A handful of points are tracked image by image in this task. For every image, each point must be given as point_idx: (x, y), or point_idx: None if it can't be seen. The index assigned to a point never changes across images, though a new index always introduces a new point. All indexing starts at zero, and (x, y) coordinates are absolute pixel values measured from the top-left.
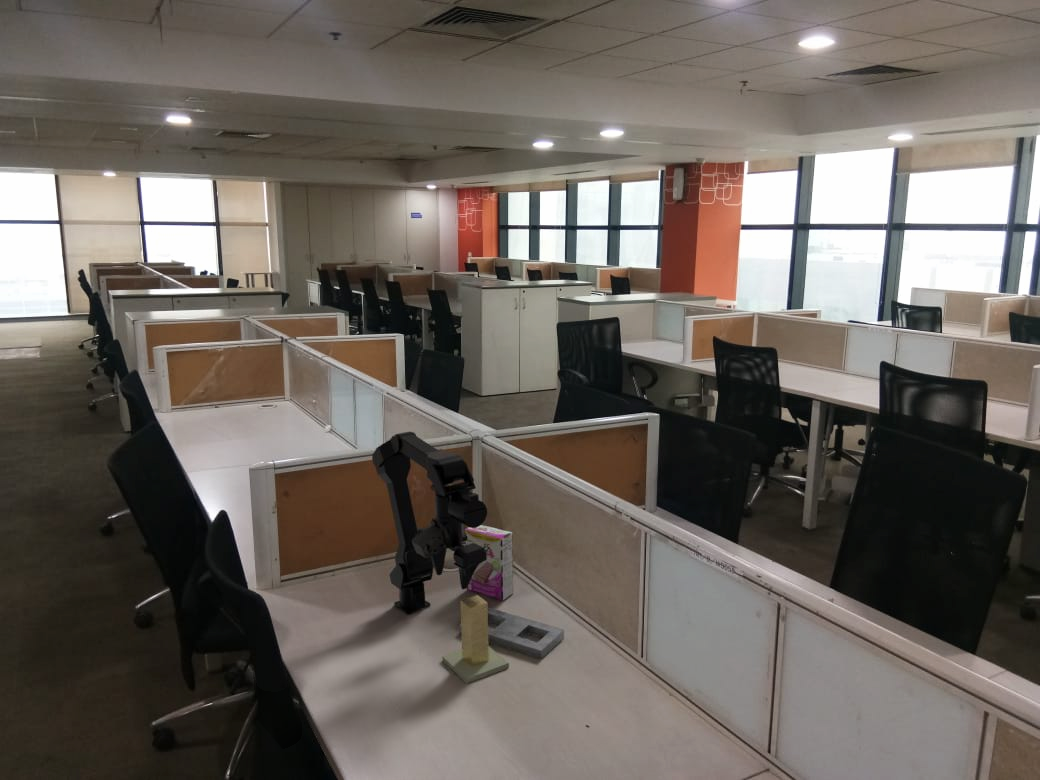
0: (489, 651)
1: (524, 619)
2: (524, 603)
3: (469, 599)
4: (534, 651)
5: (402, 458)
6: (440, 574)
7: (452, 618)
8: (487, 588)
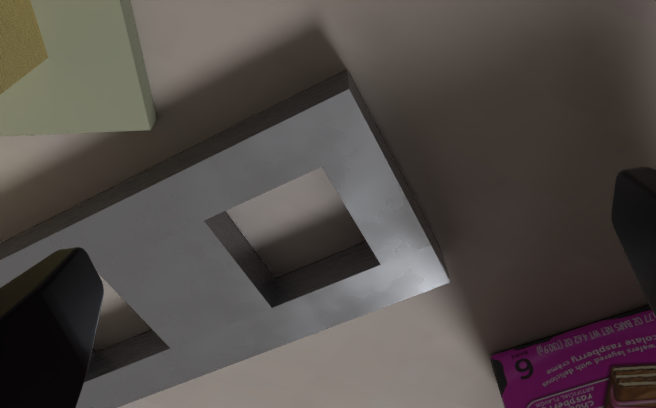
0: (39, 110)
1: (226, 356)
2: (414, 400)
3: None
4: None
5: None
6: (612, 206)
7: (518, 110)
8: (586, 361)
